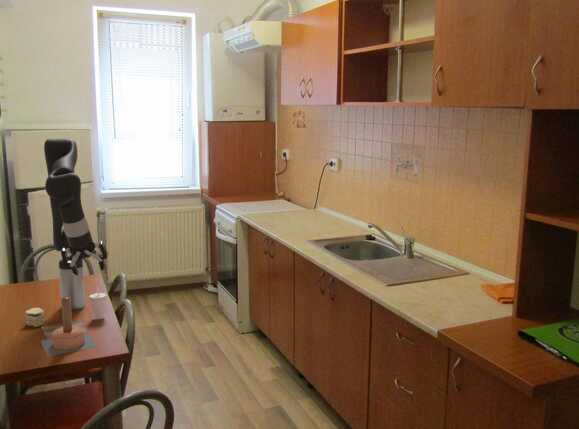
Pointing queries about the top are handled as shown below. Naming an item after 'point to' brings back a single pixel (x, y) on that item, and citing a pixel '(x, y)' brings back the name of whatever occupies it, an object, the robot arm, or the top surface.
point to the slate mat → (51, 351)
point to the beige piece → (35, 317)
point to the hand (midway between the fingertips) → (89, 271)
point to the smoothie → (98, 304)
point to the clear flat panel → (51, 328)
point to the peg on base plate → (67, 330)
